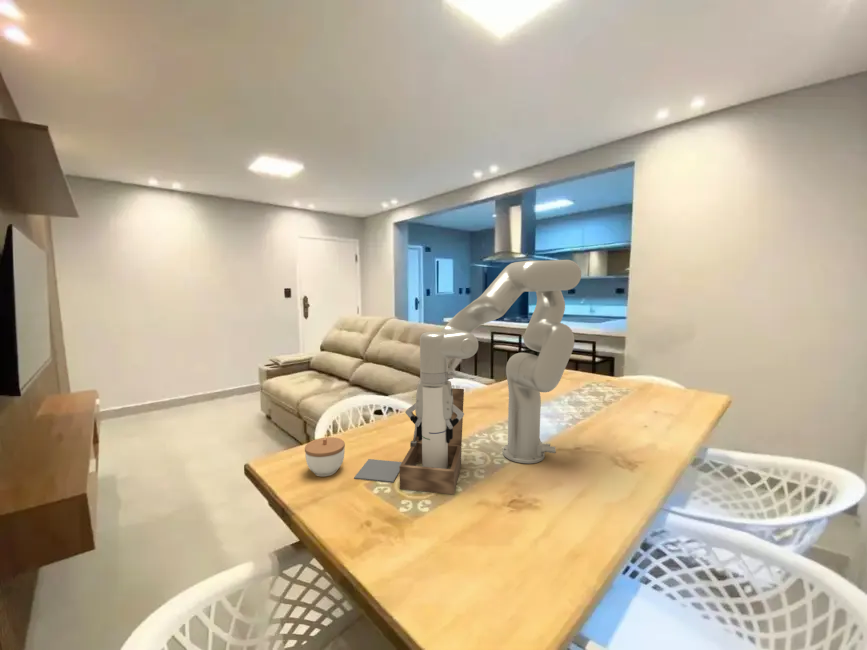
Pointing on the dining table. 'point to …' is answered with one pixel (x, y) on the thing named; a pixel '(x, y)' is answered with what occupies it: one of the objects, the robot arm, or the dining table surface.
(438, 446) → the cylindrical container
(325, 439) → the lidded jar
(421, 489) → the case
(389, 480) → the mat
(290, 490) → the dining table surface
